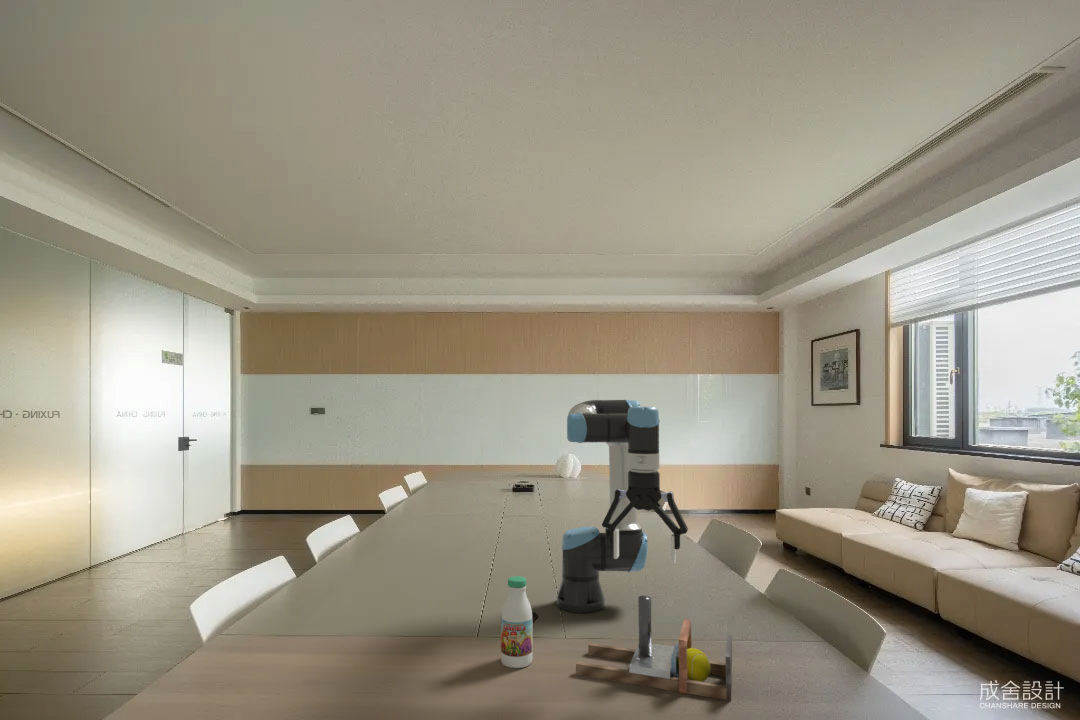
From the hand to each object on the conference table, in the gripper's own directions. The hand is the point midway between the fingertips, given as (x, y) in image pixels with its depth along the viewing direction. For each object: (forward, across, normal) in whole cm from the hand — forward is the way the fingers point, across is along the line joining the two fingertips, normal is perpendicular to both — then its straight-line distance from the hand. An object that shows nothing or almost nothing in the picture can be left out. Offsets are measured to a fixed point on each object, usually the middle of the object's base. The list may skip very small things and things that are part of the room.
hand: (644, 560), depth 136 cm
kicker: (+26, +2, 0) cm, 26 cm away
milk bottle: (+26, -31, -5) cm, 41 cm away
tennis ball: (+26, +11, 0) cm, 28 cm away
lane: (+26, +2, 0) cm, 26 cm away
